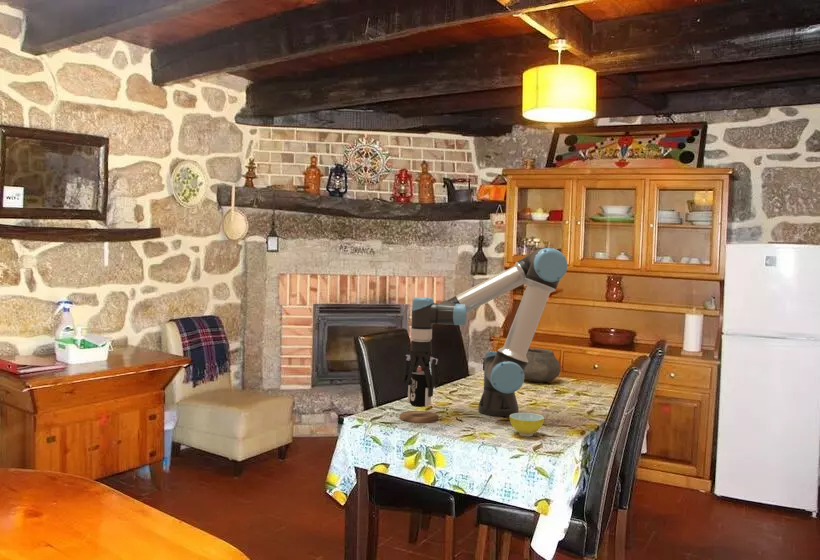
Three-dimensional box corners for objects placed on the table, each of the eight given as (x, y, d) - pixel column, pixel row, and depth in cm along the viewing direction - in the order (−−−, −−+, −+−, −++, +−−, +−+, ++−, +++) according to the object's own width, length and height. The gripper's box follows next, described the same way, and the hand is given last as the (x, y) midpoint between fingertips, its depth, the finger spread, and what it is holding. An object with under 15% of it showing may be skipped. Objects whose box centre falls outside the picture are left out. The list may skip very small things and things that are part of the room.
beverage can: (426, 408, 249) (427, 374, 248) (408, 406, 250) (409, 373, 250) (429, 404, 255) (430, 371, 255) (411, 402, 256) (413, 370, 256)
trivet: (445, 417, 255) (445, 414, 255) (425, 425, 243) (425, 421, 243) (413, 412, 262) (413, 408, 262) (392, 419, 251) (392, 415, 251)
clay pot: (564, 380, 340) (565, 349, 340) (554, 387, 321) (555, 354, 320) (520, 375, 349) (521, 345, 349) (508, 382, 330) (509, 350, 329)
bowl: (505, 436, 230) (506, 418, 230) (513, 429, 241) (513, 411, 241) (540, 441, 226) (540, 421, 226) (546, 432, 237) (546, 414, 237)
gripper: (450, 341, 250) (448, 406, 250) (404, 336, 260) (402, 398, 261) (439, 343, 243) (437, 409, 244) (392, 338, 254) (390, 401, 255)
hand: (419, 404), depth 253 cm, fingers closed on beverage can, 7 cm apart
